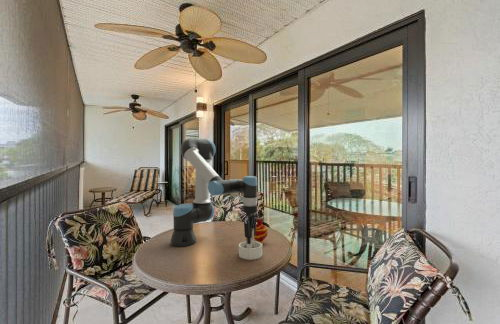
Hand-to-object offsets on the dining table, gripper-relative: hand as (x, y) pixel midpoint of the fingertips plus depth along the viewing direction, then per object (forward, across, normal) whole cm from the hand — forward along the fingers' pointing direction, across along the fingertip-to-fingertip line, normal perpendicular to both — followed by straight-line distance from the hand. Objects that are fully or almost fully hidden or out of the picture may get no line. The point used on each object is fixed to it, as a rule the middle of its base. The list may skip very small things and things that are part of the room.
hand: (250, 248), depth 137 cm
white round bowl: (+4, 0, 0) cm, 4 cm away
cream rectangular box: (0, 0, 0) cm, 0 cm away
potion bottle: (+4, +21, +3) cm, 22 cm away
